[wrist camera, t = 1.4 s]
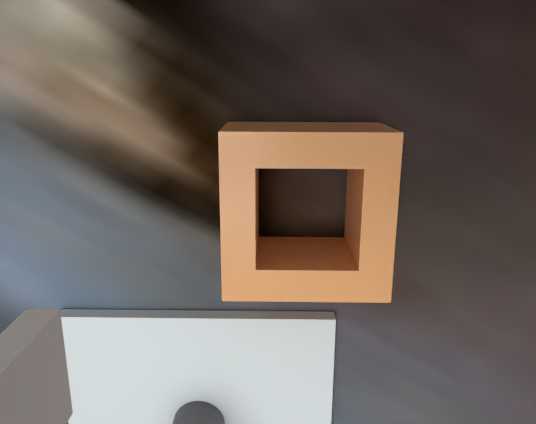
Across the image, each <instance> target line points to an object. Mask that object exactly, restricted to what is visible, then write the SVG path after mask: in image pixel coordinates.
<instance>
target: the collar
mask: <svg viewBox="0 0 536 424" xmlns="http://www.w3.org/2000/svg"><path fill="white" fill-rule="evenodd" d="M403 135H404V133H403V132H401V131H399V130H396V129H394V128H392V127H390V126H387V125H385V124H383V123H380V122H228V123H227V124H226V125H224V126H223V127H222V128H221V129H220V130H219V131H218V145H219V189H220V233H221V277H222V301H260V302H372V303H391V293H392V280H393V266H394V253H395V240H396V227H397V214H398V201H399V187H400V174H401V161H402V148H403ZM259 168H273V169H347V184H346V206H345V227H344V237H259Z"/></svg>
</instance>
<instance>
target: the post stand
mask: <svg viewBox="0 0 536 424" xmlns="http://www.w3.org/2000/svg"><path fill="white" fill-rule="evenodd" d="M60 313H61V321H62V329H63V337H64V345H65V353H66V361H67V370H68V378H69V386H70V394H71V402H72V410H73V414H72V415H71V417H70V419H69V420H68V423H69V424H331V417H332V394H333V371H334V349H335V326H336V319H335V315H334V312H322V311H214V310H105V309H62V311H61V312H60Z"/></svg>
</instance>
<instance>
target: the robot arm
mask: <svg viewBox="0 0 536 424" xmlns="http://www.w3.org/2000/svg"><path fill="white" fill-rule="evenodd" d="M72 414H73V410H72V402H71V394H70V386H69V378H68V370H67V361H66V353H65V345H64V337H63V329H62V321H61V313H60V309H26V310H25V311H24V312H23V313H22V314H21V315H20V316H19V317H18V318H17V319H16V320H15V321H14V322H13V323H12V324H10V325H9V326H8V327H7V328H6V329H5V330H4V331H3V332H2V333H1V334H0V424H67V422H68V420H69V419H70V417H71V415H72Z"/></svg>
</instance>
